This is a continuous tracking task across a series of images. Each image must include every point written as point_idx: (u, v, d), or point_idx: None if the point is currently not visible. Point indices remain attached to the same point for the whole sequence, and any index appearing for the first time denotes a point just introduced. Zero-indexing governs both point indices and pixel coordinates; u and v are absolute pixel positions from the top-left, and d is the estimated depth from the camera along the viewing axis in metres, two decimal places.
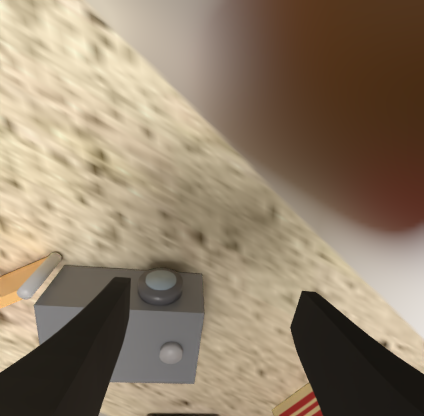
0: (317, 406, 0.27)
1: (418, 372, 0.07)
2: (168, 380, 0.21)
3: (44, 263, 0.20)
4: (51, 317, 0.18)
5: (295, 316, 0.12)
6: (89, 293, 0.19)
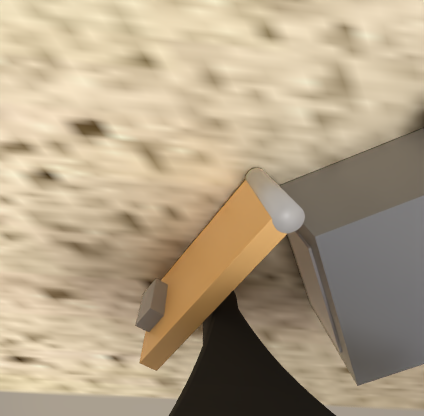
0: None
1: None
2: None
3: (259, 179, 0.10)
4: (354, 250, 0.08)
5: None
6: (384, 183, 0.09)
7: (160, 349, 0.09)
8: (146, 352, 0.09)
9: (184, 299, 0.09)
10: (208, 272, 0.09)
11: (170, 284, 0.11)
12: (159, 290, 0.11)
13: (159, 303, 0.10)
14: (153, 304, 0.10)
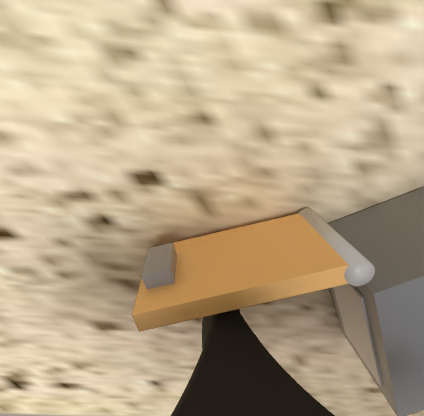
0: None
1: (280, 366, 0.07)
2: None
3: (324, 222, 0.11)
4: (407, 304, 0.09)
5: None
6: None
7: (163, 314, 0.08)
8: (145, 308, 0.08)
9: (212, 281, 0.09)
10: (252, 272, 0.09)
11: (182, 256, 0.11)
12: (173, 256, 0.10)
13: (173, 268, 0.10)
14: (171, 266, 0.09)
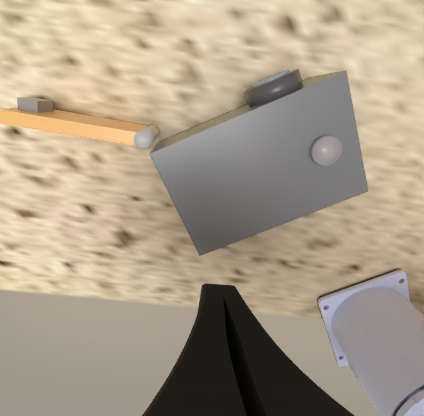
0: None
1: (297, 367, 0.07)
2: (335, 199, 0.16)
3: (152, 127, 0.17)
4: (173, 162, 0.15)
5: None
6: (199, 129, 0.16)
7: (18, 117, 0.14)
8: (8, 110, 0.14)
9: (59, 117, 0.15)
10: (86, 122, 0.15)
11: (55, 112, 0.16)
12: (48, 105, 0.16)
13: (42, 107, 0.15)
14: (39, 102, 0.15)
